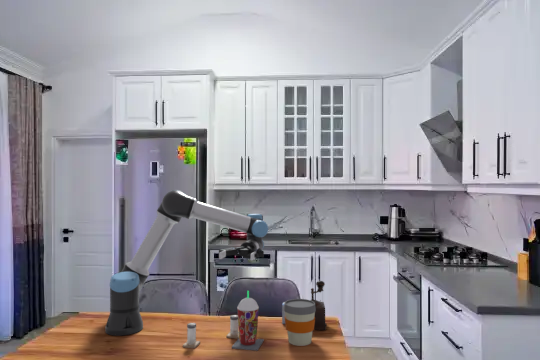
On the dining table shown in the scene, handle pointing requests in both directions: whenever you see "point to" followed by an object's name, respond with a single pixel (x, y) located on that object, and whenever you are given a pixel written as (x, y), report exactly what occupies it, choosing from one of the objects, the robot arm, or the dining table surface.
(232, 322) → the post far
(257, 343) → the mat
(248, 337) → the smoothie
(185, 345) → the post near
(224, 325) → the dining table surface
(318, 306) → the pepper mill
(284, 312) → the medicine box
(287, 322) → the reusable coffee cup
